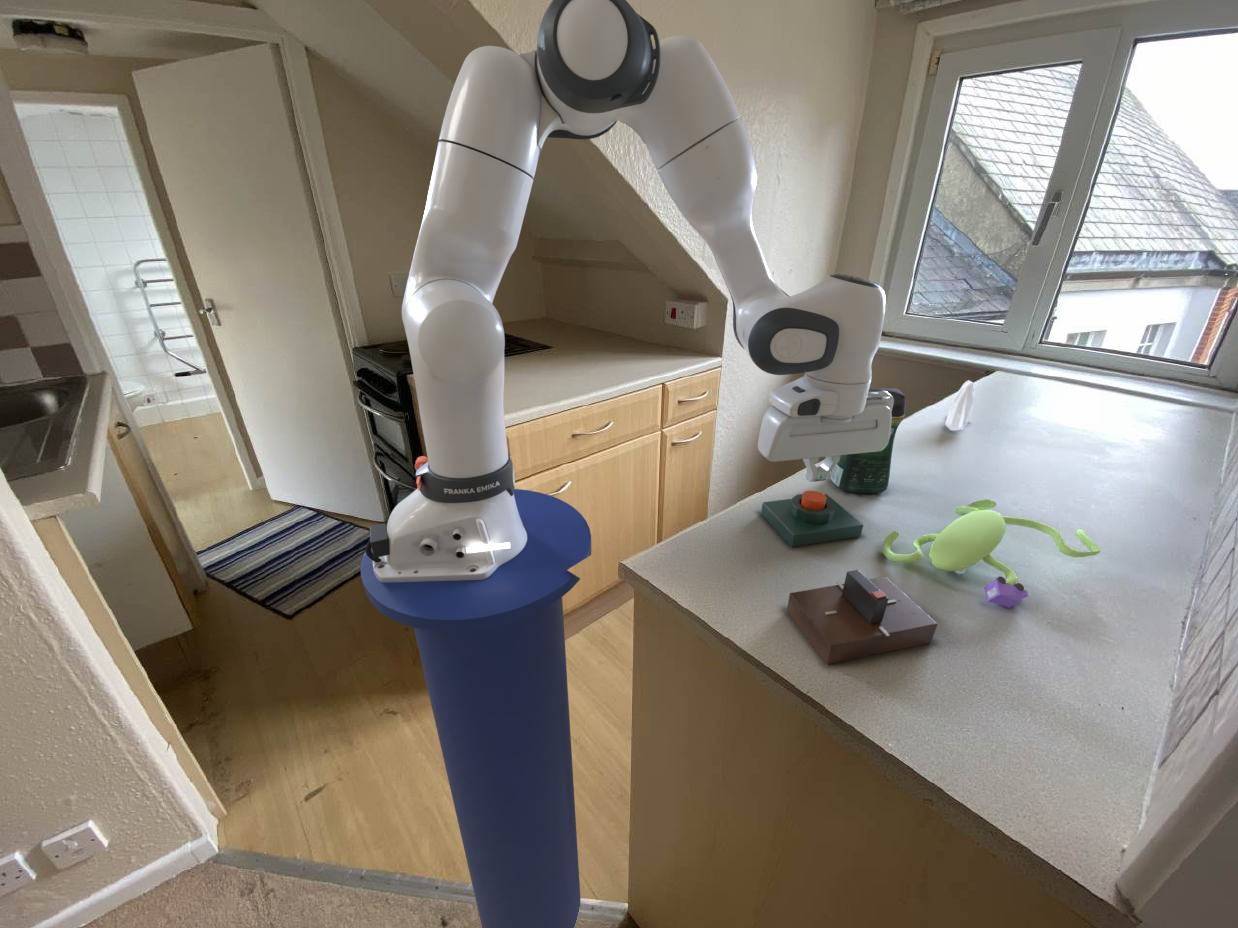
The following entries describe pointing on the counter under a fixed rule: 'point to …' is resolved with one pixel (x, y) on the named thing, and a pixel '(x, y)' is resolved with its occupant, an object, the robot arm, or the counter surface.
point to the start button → (813, 500)
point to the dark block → (865, 596)
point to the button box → (810, 521)
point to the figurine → (982, 547)
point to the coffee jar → (870, 458)
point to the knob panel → (858, 622)
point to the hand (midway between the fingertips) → (816, 479)
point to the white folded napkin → (961, 407)
